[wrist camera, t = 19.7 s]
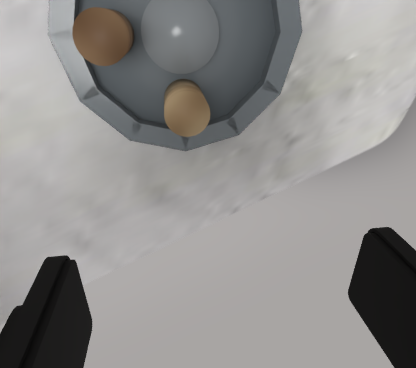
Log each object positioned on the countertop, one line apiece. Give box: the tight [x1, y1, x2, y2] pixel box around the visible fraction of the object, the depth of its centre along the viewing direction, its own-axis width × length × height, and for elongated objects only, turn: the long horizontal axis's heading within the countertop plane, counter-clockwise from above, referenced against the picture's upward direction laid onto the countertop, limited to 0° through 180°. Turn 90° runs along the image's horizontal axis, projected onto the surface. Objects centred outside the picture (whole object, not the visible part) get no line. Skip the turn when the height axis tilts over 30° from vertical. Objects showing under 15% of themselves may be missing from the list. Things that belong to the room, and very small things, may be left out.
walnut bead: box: [72, 7, 134, 66], centre depth 26 cm, size 4×4×6 cm
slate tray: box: [48, 0, 302, 151], centre depth 29 cm, size 23×23×3 cm
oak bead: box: [164, 79, 210, 137], centre depth 29 cm, size 4×4×6 cm
